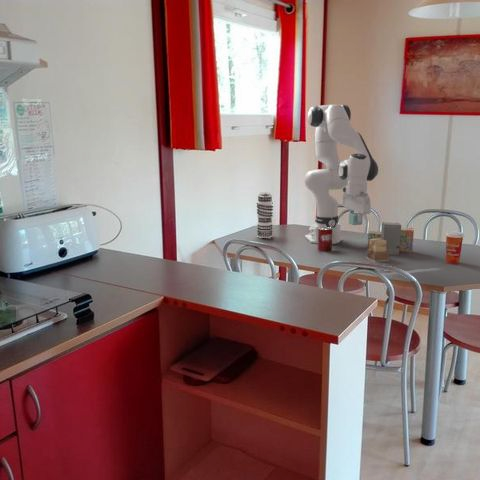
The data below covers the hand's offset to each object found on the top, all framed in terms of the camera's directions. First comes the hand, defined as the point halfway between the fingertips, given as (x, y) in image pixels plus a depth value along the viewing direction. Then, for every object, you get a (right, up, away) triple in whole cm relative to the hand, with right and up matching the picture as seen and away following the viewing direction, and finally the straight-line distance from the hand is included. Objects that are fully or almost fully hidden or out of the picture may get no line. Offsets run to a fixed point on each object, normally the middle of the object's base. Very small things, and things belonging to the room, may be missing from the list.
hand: (355, 220), depth 245 cm
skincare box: (+20, -17, +15) cm, 30 cm away
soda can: (-11, -15, +23) cm, 29 cm away
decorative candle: (-39, -8, +55) cm, 68 cm away
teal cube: (0, -2, 0) cm, 2 cm away
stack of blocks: (+22, -15, +22) cm, 35 cm away
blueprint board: (+11, -19, +5) cm, 22 cm away
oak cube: (+11, -14, +3) cm, 18 cm away
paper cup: (+45, -20, +1) cm, 49 cm away
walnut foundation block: (+11, -18, +4) cm, 22 cm away
